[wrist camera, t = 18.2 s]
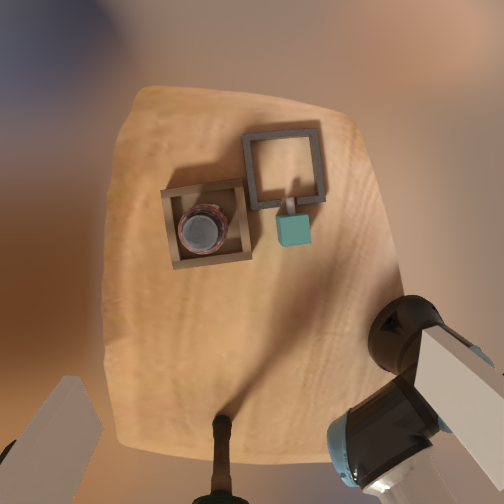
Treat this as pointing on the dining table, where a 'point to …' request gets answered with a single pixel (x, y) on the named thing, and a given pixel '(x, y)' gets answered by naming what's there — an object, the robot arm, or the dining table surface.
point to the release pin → (293, 226)
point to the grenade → (221, 467)
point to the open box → (224, 196)
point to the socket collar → (283, 134)
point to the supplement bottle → (203, 228)
